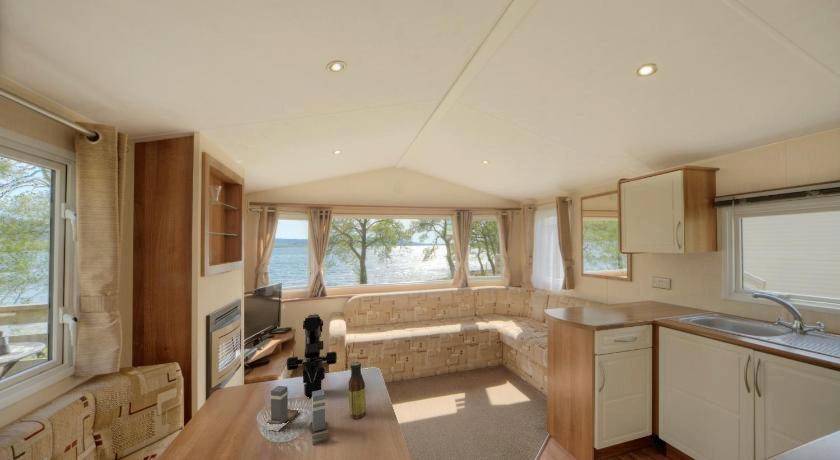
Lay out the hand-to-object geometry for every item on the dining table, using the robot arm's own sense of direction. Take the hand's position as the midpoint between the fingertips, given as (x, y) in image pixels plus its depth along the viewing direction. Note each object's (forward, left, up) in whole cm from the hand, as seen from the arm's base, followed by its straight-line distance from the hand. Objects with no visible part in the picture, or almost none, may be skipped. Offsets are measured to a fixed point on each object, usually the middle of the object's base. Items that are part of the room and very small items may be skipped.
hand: (312, 382), depth 116 cm
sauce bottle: (-15, +8, -14) cm, 22 cm away
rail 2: (0, +10, -14) cm, 17 cm away
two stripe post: (0, +9, -13) cm, 15 cm away
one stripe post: (+11, -3, -13) cm, 17 cm away
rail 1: (+9, -5, -14) cm, 17 cm away
